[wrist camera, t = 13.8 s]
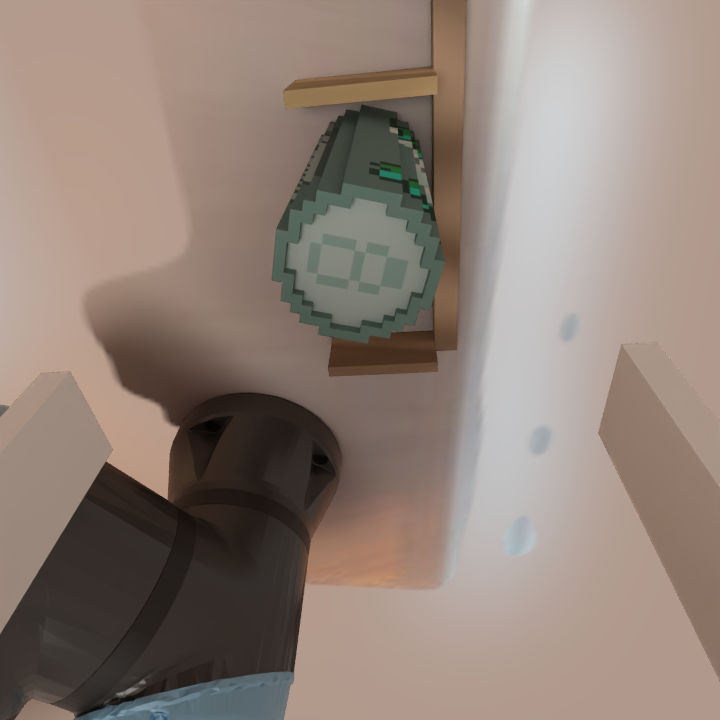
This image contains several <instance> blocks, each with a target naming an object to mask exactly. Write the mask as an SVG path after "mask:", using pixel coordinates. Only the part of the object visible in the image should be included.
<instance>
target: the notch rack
mask: <svg viewBox="0 0 720 720" xmlns="http://www.w3.org/2000/svg"><path fill="white" fill-rule="evenodd" d="M465 35H466V0H431V52H432V67H423V68H413V69H403V70H393V71H383V72H373V73H364V74H354V75H344V76H334V77H324V78H314V79H304V80H295V81H294V82H293V83H292V84H291V85H289V86H288V87H287V88H286V89H285V90H284V91H283V94H284V100H285V106H286V109H289V108H300V107H310V106H320V105H331V104H341V103H352V102H362V101H372V100H383V99H393V98H404V97H414V96H424V95H432V201H433V208H434V212H435V217H436V221H437V226H438V230H439V235H440V241H441V246H442V250H443V255H444V259H445V264H444V267H443V270H442V273H441V277H440V280H439V283H438V286H437V289H436V292H435V296H434V299H433V331H420V332H401V333H391V336H390V339H387V338H382V337H376V336H371V335H370V336H369V341H368V343H362V342H356V341H351V340H345V339H340V338H334V337H333V341H332V347H331V353H330V359H329V365H328V370H329V376H352V375H374V374H396V373H418V372H438V361H437V354H436V351H445V350H457V329H458V293H459V256H460V219H461V182H462V145H463V109H464V72H465Z"/></svg>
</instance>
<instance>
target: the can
mask: <svg viewBox="0 0 720 720" xmlns="http://www.w3.org/2000/svg"><path fill="white" fill-rule="evenodd" d="M444 264H445V259H444V255H443V250H442V246H441V241H440V235H439V230H438V226H437V221H436V217H435V212H434V208H433V203H432V199H431V195H430V190H429V186H428V181H427V177H426V172H425V168H424V163H423V159H422V154H421V150H420V146H419V141H418V140H415V137H414V132H413V131H410V130H409V124H408V123H407V122H403V121H398V120H397V115H396V112H393V111H388V110H384V109H379V108H374V107H370V106H365V105H362V106H361V110H360V112H356V111H351V110H346V113H345V115H344V117H343V116H338V118H337V121H336V123H335V122H330V124H329V126H328V129H327V131H326V133H325V135H322V136H321V138H320V140H319V142H318V144H317V146H316V148H315V150H314V152H313V154H312V156H311V158H310V161H309V163H308V165H307V167H306V169H305V171H304V173H303V175H302V177H301V179H300V181H299V183H298V185H297V187H296V189H295V192H294V194H293V196H292V198H291V200H290V202H289V204H288V206H287V208H286V210H285V212H284V214H283V216H282V218H281V220H280V222H279V225H278V227H277V229H276V238H275V249H274V260H273V272H272V281H277V282H283V283H282V292H281V301H283V302H288V303H291V308H290V312H293V313H298V314H300V320H299V323H304V324H310V325H315V326H319V332H318V335H323V336H329V337H334V338H340V339H345V340H351V341H356V342H362V343H368V341H369V336H370V335H371V336H376V337H382V338H387V339H390V336H391V332H392V331H397V332H402V330H403V327H404V324H408V325H413V326H414V325H415V322H416V319H417V315H418V312H419V309H420V308H422V309H428V310H430V308H431V305H432V302H433V299H434V296H435V292H436V289H437V286H438V283H439V280H440V277H441V273H442V270H443V267H444Z"/></svg>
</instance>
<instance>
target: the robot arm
mask: <svg viewBox="0 0 720 720" xmlns="http://www.w3.org/2000/svg"><path fill="white" fill-rule="evenodd" d="M598 433H599V435H600V437H601V439H602V441H603V444H604V445H605V448H606V450H607V452H608V454H609V456H610V458H611V459H612V462H613V464H614V466H615V468H616V470H617V472H618V474H619V476H620V478H621V480H622V482H623V484H624V486H625V489H626V490H627V493H628V494H629V497H630V499H631V501H632V503H633V505H634V507H635V509H636V511H637V513H638V515H639V517H640V519H641V521H642V523H643V525H644V527H645V529H646V531H647V533H648V535H649V538H650V540H651V542H652V544H653V546H654V548H655V550H656V552H657V554H658V556H659V558H660V560H661V562H662V564H663V566H664V568H665V570H666V572H667V574H668V576H669V578H670V580H671V582H672V584H673V587H674V589H675V590H676V593H677V595H678V597H679V599H680V601H681V603H682V605H683V607H684V609H685V611H686V613H687V615H688V617H689V619H690V621H691V623H692V625H693V627H694V629H695V631H696V633H697V635H698V637H699V640H700V642H701V644H702V646H703V648H704V650H705V652H706V654H707V656H708V658H709V660H710V662H711V664H712V666H713V668H714V670H715V672H716V674H717V676H718V678H719V680H720V421H719V420H718V418H717V417H716V416H715V415H714V413H713V412H712V411H711V410H710V408H709V407H708V406H707V404H706V403H705V402H704V401H703V399H702V398H701V397H700V396H699V395H698V393H697V392H696V391H695V390H694V388H693V387H692V386H691V384H690V383H689V382H688V381H687V379H686V378H685V377H684V375H683V374H682V373H681V372H680V370H679V369H678V368H677V367H676V365H675V364H674V363H673V362H672V360H671V359H670V358H669V357H668V355H667V354H666V353H665V352H664V350H663V349H662V348H661V347H660V345H659V344H658V343H657V342H655V343H636V344H622V345H621V348H620V352H619V356H618V359H617V363H616V367H615V371H614V375H613V379H612V383H611V387H610V390H609V394H608V398H607V401H606V406H605V409H604V413H603V417H602V421H601V425H600V428H599V432H598ZM112 450H113V449H112V448H111V445H110V443H109V442H108V440H107V438H106V436H105V435H104V433H103V431H102V429H101V427H100V425H99V424H98V422H97V420H96V418H95V416H94V414H93V412H92V411H91V409H90V407H89V405H88V403H87V401H86V400H85V398H84V396H83V394H82V392H81V390H80V389H79V387H78V385H77V383H76V381H75V380H74V378H73V376H72V374H71V372H52V373H41V374H40V375H39V376H38V377H37V378H36V379H35V381H34V382H33V383H32V384H31V385H30V386H29V387H28V388H27V389H26V390H25V391H24V392H23V393H22V394H21V395H20V397H19V398H18V399H17V400H16V401H15V402H14V403H13V404H12V405H11V406H10V407H9V406H5V405H0V720H14V719H15V718H16V716H17V715H18V714H19V712H20V711H21V709H22V708H23V707H24V705H25V704H26V703H27V702H28V701H30V700H31V699H35V700H38V701H42V702H45V703H49V704H52V705H55V706H57V707H60V708H63V709H65V710H68V711H71V712H72V713H74V715H75V719H74V720H284V715H285V709H286V705H287V700H288V695H289V690H290V685H291V684H292V683H293V681H294V666H295V659H296V650H297V643H298V635H299V627H300V619H301V611H302V603H303V595H304V587H305V580H306V572H307V564H308V555H309V549H310V542H311V538H312V536H313V534H314V533H315V531H316V529H317V527H318V525H319V523H320V521H321V519H322V518H323V516H324V514H325V512H326V510H327V508H328V506H329V504H330V502H331V501H332V499H333V497H334V495H335V493H336V490H337V487H338V483H339V475H340V466H341V455H340V450H339V447H338V444H337V442H336V440H335V438H334V436H333V435H332V433H331V432H330V430H329V429H328V428H327V427H326V426H325V425H324V424H323V423H322V422H321V421H320V420H319V419H318V418H317V417H315V416H314V415H313V414H311V413H310V412H308V411H307V410H305V409H303V408H301V407H299V406H297V405H295V404H293V403H291V402H288V401H285V400H282V399H279V398H276V397H271V396H266V395H259V394H232V395H225V396H221V397H217V398H214V399H211V400H209V401H206V402H204V403H203V404H201V405H199V406H198V407H196V408H195V409H193V410H192V411H191V412H190V413H189V414H188V415H187V416H186V418H185V419H184V421H183V422H182V424H181V426H180V428H179V430H178V432H177V435H176V437H175V439H174V441H173V444H172V447H171V451H170V462H169V484H168V485H169V486H168V500H167V499H165V498H163V497H162V496H160V495H158V494H157V493H155V492H154V491H152V490H151V489H149V488H147V487H146V486H144V485H142V484H141V483H139V482H138V481H136V480H135V479H133V478H131V477H130V476H128V475H127V474H125V473H123V472H122V471H120V470H119V469H117V468H115V467H114V466H112V465H111V464H109V463H107V462H106V460H107V458H108V457H109V455H110V453H111V452H112Z"/></svg>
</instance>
